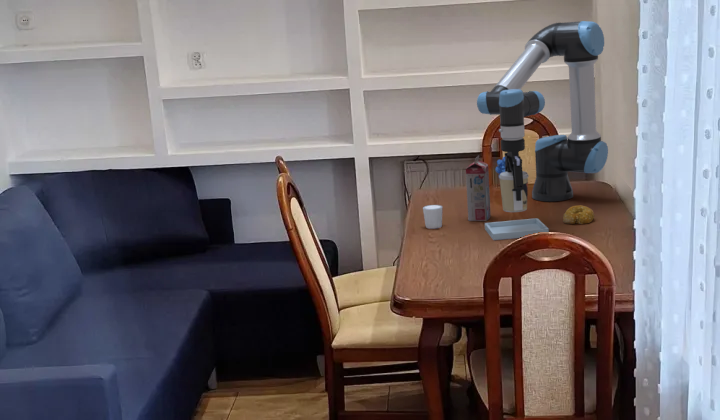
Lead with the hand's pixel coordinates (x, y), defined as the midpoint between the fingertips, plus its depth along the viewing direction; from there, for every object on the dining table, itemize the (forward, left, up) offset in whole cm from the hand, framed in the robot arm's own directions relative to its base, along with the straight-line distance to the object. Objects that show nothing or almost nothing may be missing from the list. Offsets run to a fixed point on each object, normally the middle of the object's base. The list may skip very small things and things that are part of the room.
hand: (514, 206), depth 277 cm
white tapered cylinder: (+25, -17, -9) cm, 31 cm away
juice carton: (+8, -22, -9) cm, 25 cm away
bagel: (-23, -7, -9) cm, 25 cm away
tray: (0, 0, -9) cm, 9 cm away
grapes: (-13, -68, -9) cm, 70 cm away
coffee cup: (0, 0, -1) cm, 1 cm away
